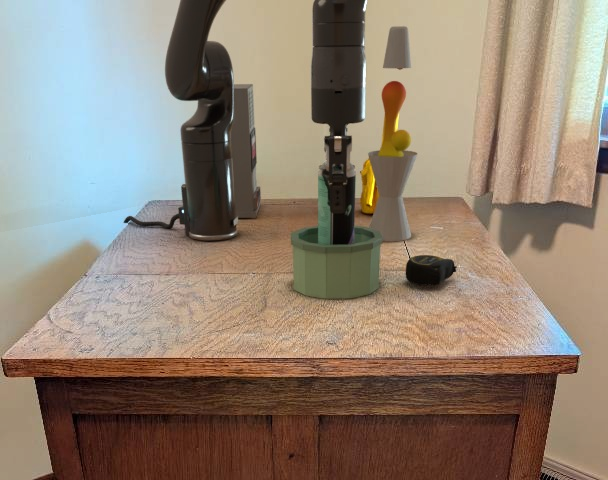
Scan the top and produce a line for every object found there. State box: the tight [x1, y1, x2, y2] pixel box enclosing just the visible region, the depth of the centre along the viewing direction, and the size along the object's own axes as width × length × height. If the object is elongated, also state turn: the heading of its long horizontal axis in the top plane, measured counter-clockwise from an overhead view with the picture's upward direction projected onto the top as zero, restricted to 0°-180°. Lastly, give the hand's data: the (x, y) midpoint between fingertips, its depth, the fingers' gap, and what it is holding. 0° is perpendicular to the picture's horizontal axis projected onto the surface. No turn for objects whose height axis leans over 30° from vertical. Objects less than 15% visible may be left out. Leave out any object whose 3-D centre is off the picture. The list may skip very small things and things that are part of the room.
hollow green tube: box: [290, 225, 384, 300], centre depth 111 cm, size 14×14×8 cm
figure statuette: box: [359, 113, 400, 214], centre depth 152 cm, size 18×8×22 cm, turn 175°
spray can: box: [317, 161, 357, 245], centre depth 107 cm, size 6×6×20 cm
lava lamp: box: [367, 25, 418, 242], centre depth 130 cm, size 9×9×35 cm
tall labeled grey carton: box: [231, 83, 262, 220], centre depth 153 cm, size 14×6×25 cm, turn 179°
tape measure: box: [405, 254, 458, 286], centre depth 112 cm, size 7×7×4 cm
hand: (337, 206), depth 106 cm, fingers open, 8 cm apart
